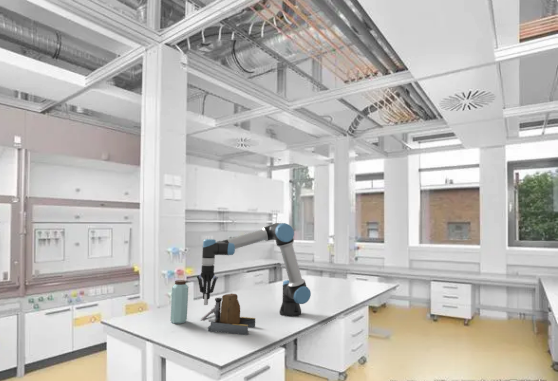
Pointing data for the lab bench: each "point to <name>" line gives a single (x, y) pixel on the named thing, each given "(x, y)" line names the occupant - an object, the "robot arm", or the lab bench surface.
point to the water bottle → (179, 302)
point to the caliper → (209, 313)
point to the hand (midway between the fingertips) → (205, 304)
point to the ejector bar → (217, 311)
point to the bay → (233, 326)
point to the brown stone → (230, 309)
